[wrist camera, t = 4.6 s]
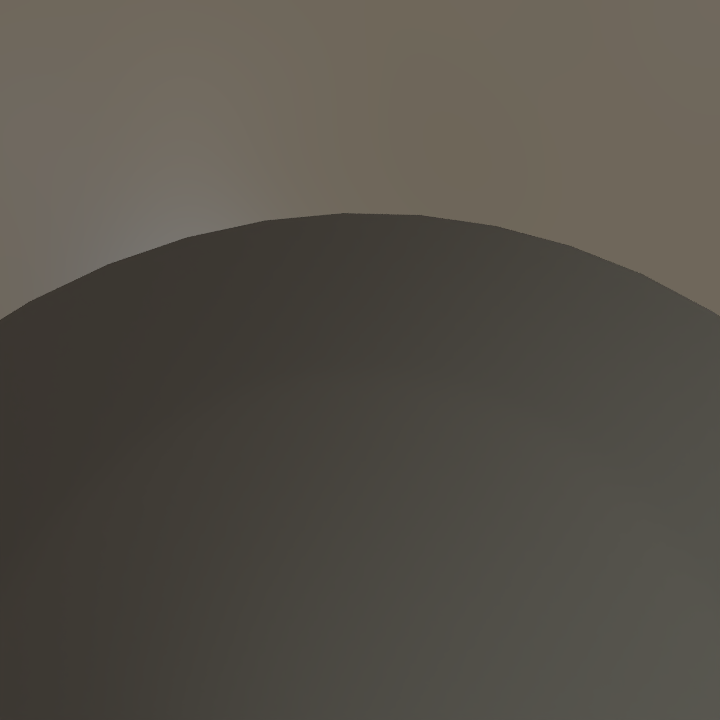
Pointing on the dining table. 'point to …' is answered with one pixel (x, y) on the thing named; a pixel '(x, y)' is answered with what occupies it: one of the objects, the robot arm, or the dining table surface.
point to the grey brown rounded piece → (360, 482)
